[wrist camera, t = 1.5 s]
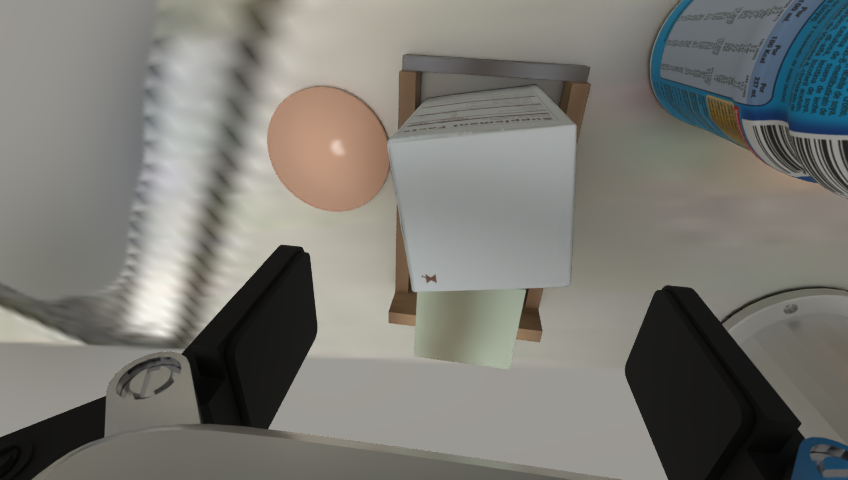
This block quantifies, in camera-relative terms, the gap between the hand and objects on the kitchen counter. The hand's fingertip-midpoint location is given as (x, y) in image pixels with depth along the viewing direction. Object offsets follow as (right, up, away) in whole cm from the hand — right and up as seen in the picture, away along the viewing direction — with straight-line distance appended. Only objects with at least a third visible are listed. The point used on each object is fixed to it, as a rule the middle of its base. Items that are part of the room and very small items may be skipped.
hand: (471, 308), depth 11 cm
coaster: (-8, +8, +18) cm, 22 cm away
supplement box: (+3, +9, +17) cm, 19 cm away
